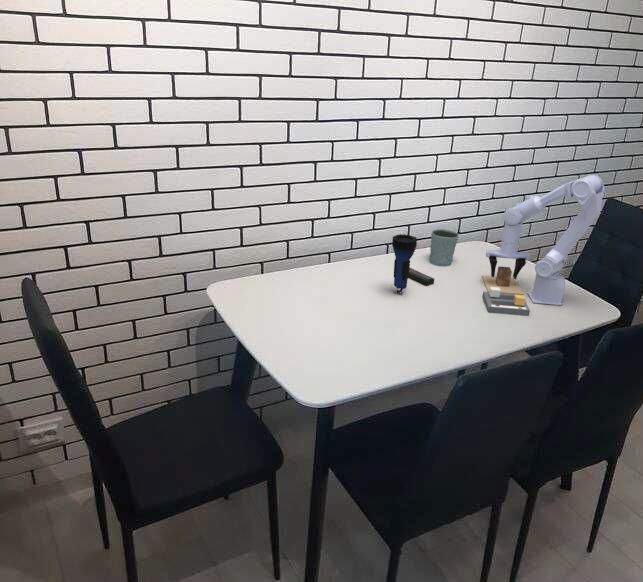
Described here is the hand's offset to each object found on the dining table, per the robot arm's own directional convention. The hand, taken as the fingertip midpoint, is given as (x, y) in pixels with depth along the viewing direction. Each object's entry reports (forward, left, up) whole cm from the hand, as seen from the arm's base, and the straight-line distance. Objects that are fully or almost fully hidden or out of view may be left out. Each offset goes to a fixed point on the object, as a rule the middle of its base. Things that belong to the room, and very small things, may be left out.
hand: (503, 276), depth 205 cm
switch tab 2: (-2, +19, -1) cm, 20 cm away
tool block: (0, 0, -3) cm, 3 cm away
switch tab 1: (+6, +15, -1) cm, 16 cm away
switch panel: (+2, +17, -3) cm, 17 cm away
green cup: (+20, -19, -4) cm, 28 cm away
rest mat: (0, 0, -3) cm, 3 cm away
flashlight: (+37, +14, -4) cm, 40 cm away
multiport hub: (+31, -1, -4) cm, 31 cm away
